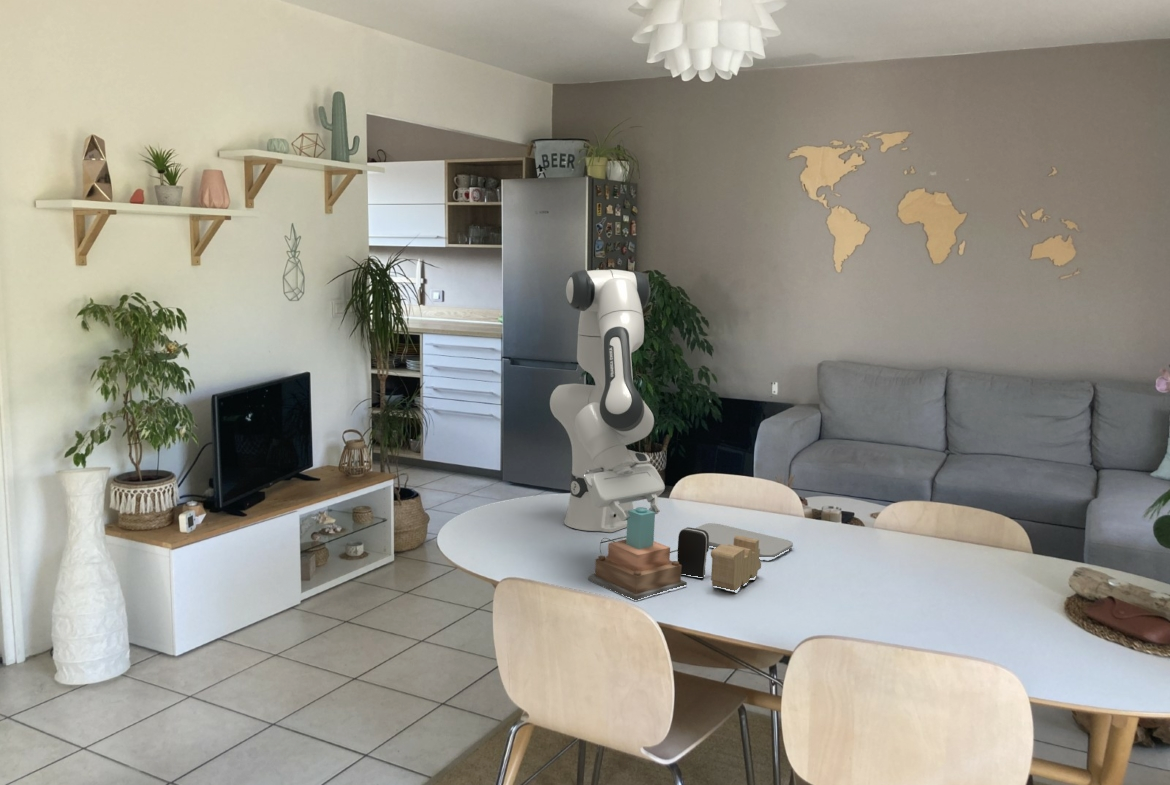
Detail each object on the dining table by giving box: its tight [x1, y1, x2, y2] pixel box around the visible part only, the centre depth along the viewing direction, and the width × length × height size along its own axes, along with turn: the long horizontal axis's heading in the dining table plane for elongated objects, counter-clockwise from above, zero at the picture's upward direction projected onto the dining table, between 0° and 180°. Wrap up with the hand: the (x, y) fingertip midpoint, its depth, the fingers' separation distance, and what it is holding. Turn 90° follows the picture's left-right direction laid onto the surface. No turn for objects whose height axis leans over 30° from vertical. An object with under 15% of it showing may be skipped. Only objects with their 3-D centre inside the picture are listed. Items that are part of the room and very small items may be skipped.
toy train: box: [710, 535, 762, 591], centre depth 218 cm, size 6×17×10 cm, turn 147°
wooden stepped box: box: [588, 538, 688, 600], centre depth 216 cm, size 16×16×9 cm
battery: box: [677, 526, 710, 578], centre depth 223 cm, size 7×4×11 cm, turn 64°
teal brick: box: [625, 506, 656, 549], centre depth 215 cm, size 4×4×9 cm
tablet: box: [695, 522, 794, 557], centre depth 249 cm, size 16×26×2 cm, turn 54°
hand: (641, 516), depth 214 cm, fingers open, 8 cm apart
